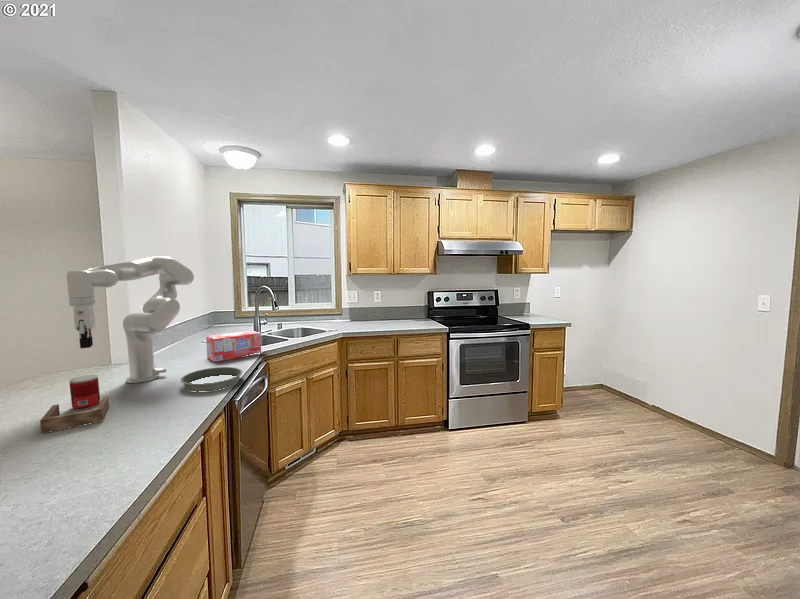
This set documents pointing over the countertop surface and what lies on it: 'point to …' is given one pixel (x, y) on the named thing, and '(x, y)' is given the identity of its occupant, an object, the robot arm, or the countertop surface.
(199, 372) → the cake pan
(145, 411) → the countertop surface
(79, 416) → the walnut holder
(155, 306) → the robot arm
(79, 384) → the canned food
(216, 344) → the box
